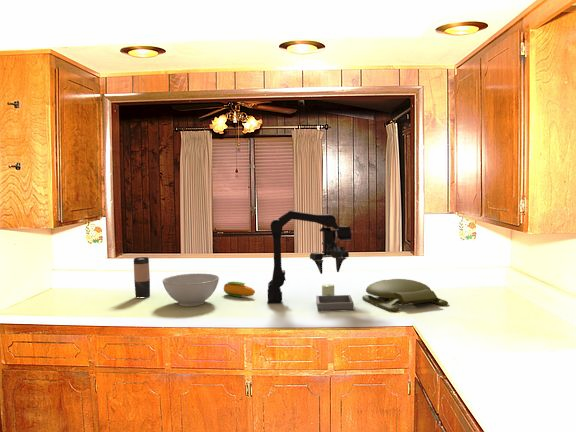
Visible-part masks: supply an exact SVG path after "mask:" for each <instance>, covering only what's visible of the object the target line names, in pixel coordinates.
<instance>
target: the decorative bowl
mask: <svg viewBox="0 0 576 432" xmlns="http://www.w3.org/2000/svg"><path fill="white" fill-rule="evenodd" d="M219 280H220V277H219V276H218V275H217V274H212V273H184V274H183V273H182V274H176V275H171V276H168V277H167V276H166V277H165V278H163V279H162V284H163V287H164V290H165V291H166V292H167V294H168V295H169V297H170V298H172V300H174V301H175V302H177V303H178V305H179V306H182V307H195V306H196V305H197V306H201V305H203V303H204V304H205V303H206V300H208V299H209V298H210V297H211V296H212V295H213V294H214V293H215V291H216V289H217V287H218V284H219Z"/></svg>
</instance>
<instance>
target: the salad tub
mask: <svg viewBox="0 0 576 432" xmlns="http://www.w3.org/2000/svg"><path fill="white" fill-rule="evenodd" d="M327 295H335V284H322V285H321V296H327Z"/></svg>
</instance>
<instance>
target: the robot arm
mask: <svg viewBox="0 0 576 432" xmlns="http://www.w3.org/2000/svg"><path fill="white" fill-rule="evenodd" d="M291 220H297V221H303V222H309V223H310V222H311V223H317V224H319V225H322V226H321V228H319V232H322V233H323V235H322V236H323V242H321V245H323V250H322V251H321V252H322V253H320V252H311V253H310V254H309V259H310V260H312V261H314V263H315V264H316V266H317V269H318V272H319V273H320V275H322V274H323V263H324V259H325V258H333V259H335V266H336V267H335V268H336V272H337V273H339V272H340V269H341V267H342V264H343V262H344V261H345V260H347V258H349V257H350V253H349V251H348V250H346V247H345V246H338V243H337V242H336V239H338V241H352V230H351V226H350V225H346V226H343V225H342V226H340V225H339V224H338V223H337V220H336V217H335V216H334V215H333V214H331V213H322V214H321V213H319V214H313V213H308V212H301V211H294V210H288V211H287V212H285V213H284V214H283V215H281V216H280V217H279V218H274V219H273V220H271V221H270V231H271V235H272V240H273V242H272V243H273V247H272V248H273V269H272V270H273V271H272V277H271V280H270V281H269V282H268V283H267V304H281V303H282V302H283V291H282V288H281V287H282V286H283V285H284V284H285V282H286V280H287V279H286V270H285V269H283V268H282V243H281V242H282V241H281V239H282V234H283V227H284V226H285V225H286V224H287V223H289V222H290V221H291ZM332 228H333V229H332Z"/></svg>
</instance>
